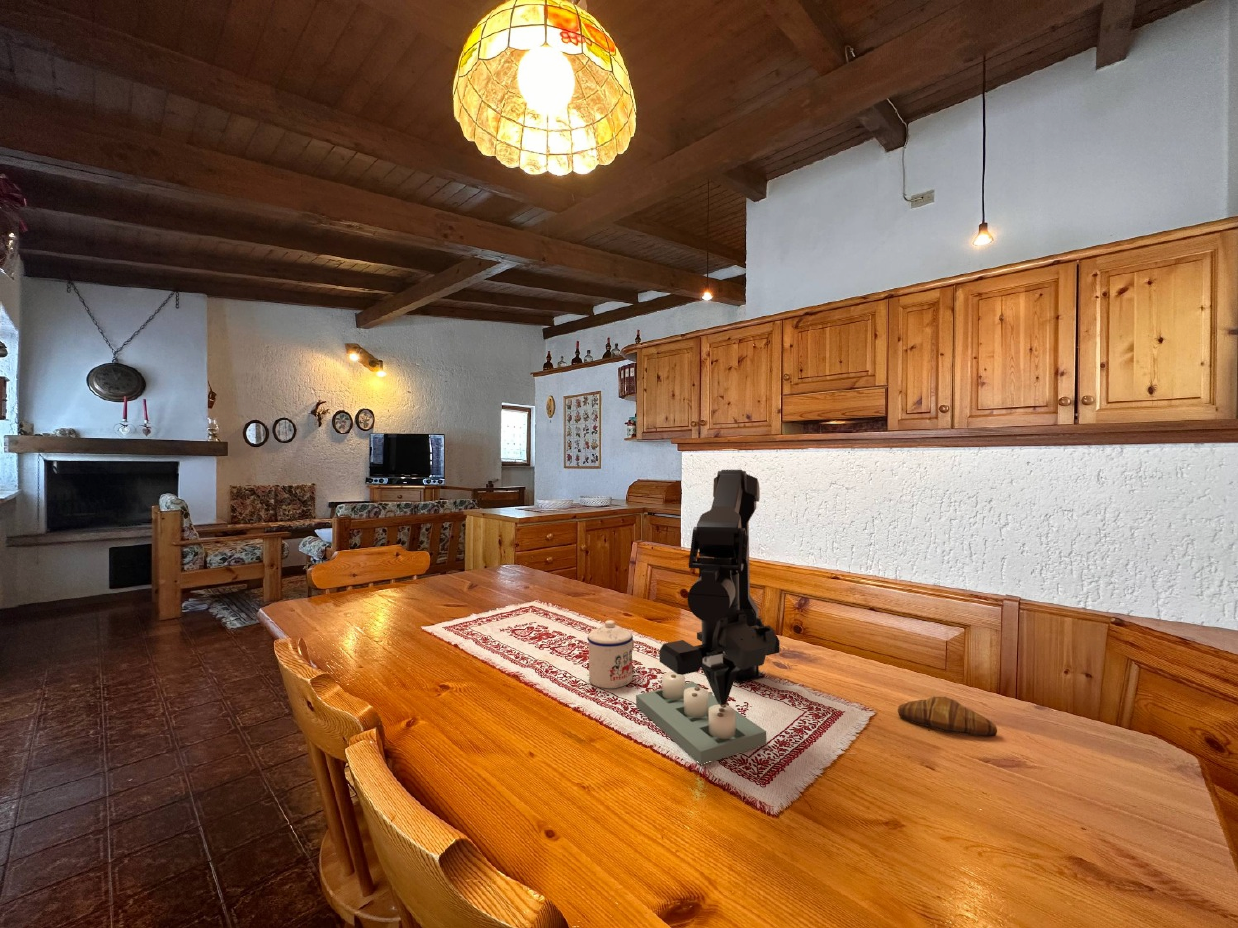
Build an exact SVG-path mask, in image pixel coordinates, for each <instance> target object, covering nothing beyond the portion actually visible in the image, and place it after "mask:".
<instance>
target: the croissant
mask: <svg viewBox="0 0 1238 928" xmlns="http://www.w3.org/2000/svg"><path fill="white" fill-rule="evenodd" d="M897 712H898V713H897V714H898V716H899V717H900V718H902V719H903V720H906V721H908V722H912V723H914V724H917V725H921V726H926V727H929V728H933V729H936V730H939V731H943V732H945V733H952V734H955V733H956V734H962V735H968V736H974V737H984V738H990V737H991V738H993V737H994V738H995V737H996V736H997V734H998V728H997V725H996V724H995V723H994V722H992V721H991V720H989V719H988V718H986V717H985V716H983V715H981V714H980V713H978V712H975V711H973V710H972V709H970V708H968V707H966V706H964V705H962V704H961V703H960V702H958V701H957V700H955V699H953V698H949V697H946V696H932V697H930V698H927V699H919V700H914V701H913V700H912V701H908V702H906V703H903V704H900V705H898V709H897Z"/></svg>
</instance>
